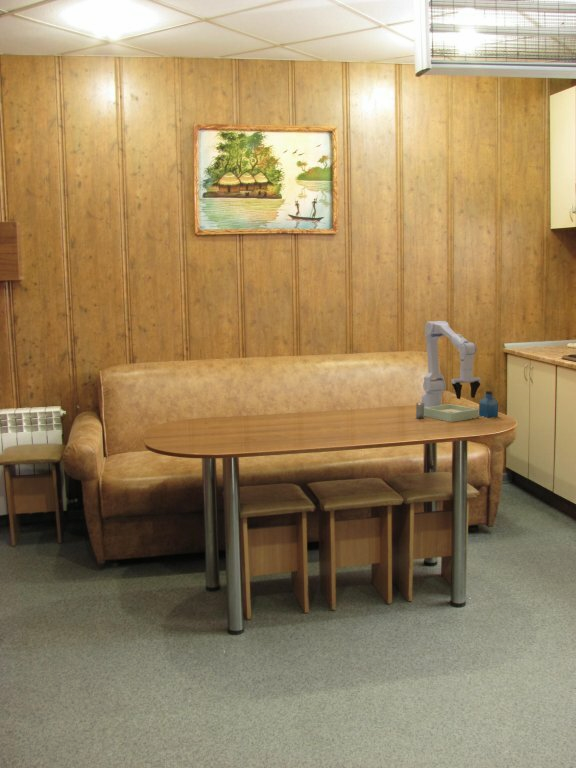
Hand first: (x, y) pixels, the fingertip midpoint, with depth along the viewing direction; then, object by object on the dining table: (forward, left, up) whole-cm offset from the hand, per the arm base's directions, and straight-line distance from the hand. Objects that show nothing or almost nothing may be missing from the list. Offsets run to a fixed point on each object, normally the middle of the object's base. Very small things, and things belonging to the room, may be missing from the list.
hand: (465, 398), depth 372 cm
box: (-8, -1, -10) cm, 13 cm away
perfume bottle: (+1, +15, -10) cm, 18 cm away
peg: (-14, -15, -10) cm, 23 cm away
